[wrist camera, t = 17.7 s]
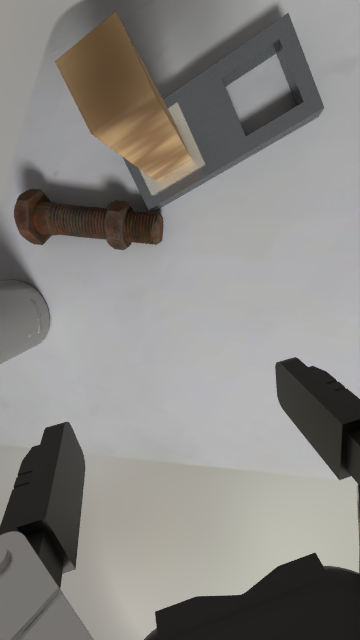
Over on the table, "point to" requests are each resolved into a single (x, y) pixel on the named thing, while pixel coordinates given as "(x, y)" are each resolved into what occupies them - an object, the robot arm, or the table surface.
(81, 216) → the bolt
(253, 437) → the table surface
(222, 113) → the socket plate
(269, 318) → the table surface
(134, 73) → the wooden peg
